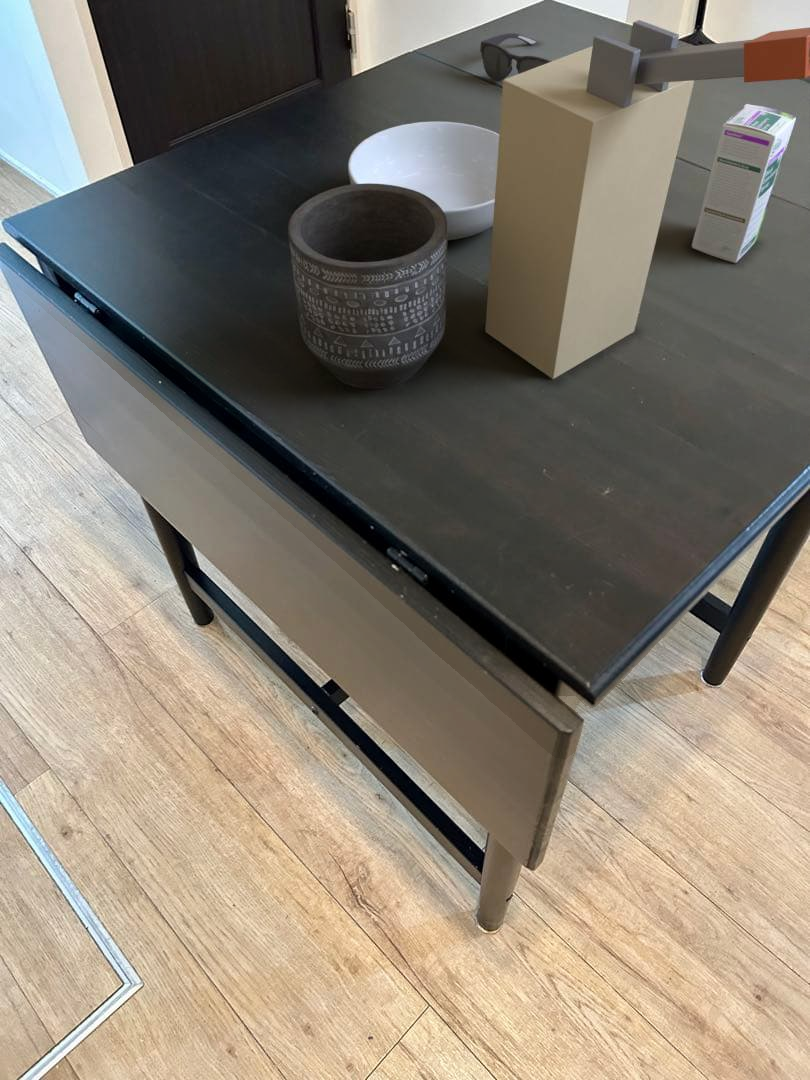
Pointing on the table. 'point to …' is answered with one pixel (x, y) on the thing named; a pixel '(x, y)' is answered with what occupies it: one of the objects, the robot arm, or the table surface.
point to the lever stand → (580, 198)
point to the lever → (731, 60)
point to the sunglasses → (506, 57)
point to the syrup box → (742, 181)
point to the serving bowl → (436, 169)
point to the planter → (370, 281)
